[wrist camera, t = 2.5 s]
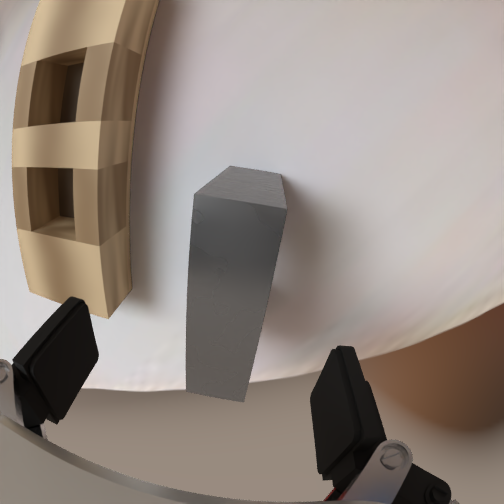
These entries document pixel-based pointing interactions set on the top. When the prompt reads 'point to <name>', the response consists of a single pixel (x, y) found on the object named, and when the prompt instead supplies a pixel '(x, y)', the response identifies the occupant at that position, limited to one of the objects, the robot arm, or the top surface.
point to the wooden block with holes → (78, 147)
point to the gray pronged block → (230, 277)
